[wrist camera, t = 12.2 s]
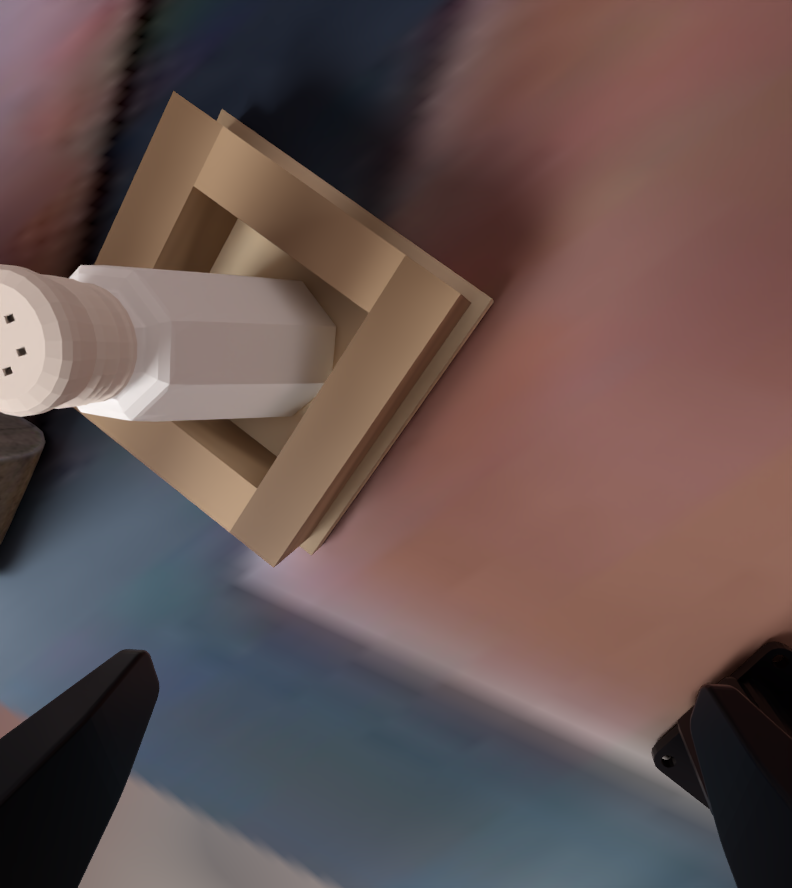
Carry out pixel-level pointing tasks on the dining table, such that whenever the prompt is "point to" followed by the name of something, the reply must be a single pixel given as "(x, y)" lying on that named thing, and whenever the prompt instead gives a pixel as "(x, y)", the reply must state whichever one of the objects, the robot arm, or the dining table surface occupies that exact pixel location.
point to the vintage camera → (16, 463)
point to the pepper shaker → (160, 344)
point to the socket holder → (334, 287)
